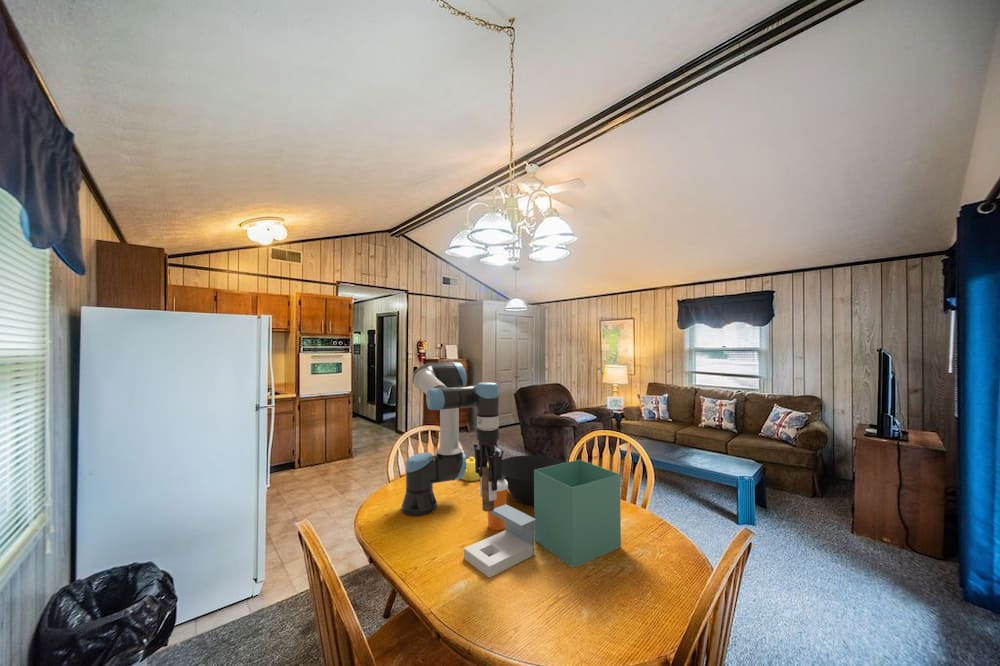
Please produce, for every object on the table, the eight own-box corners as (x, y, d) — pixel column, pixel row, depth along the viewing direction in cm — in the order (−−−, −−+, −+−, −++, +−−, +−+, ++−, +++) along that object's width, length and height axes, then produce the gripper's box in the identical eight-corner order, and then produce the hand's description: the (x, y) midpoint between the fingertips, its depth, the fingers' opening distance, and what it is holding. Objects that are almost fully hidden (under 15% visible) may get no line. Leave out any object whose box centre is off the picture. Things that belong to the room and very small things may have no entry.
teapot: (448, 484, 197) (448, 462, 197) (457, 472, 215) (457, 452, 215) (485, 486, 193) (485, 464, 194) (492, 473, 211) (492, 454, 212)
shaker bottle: (505, 532, 146) (505, 480, 146) (483, 530, 148) (483, 479, 148) (509, 522, 154) (509, 472, 155) (488, 520, 156) (488, 471, 157)
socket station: (462, 557, 129) (462, 520, 130) (506, 537, 142) (505, 504, 142) (491, 579, 117) (491, 538, 117) (536, 555, 130) (536, 519, 130)
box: (572, 568, 123) (572, 487, 124) (534, 540, 140) (533, 469, 141) (621, 547, 135) (620, 474, 136) (580, 523, 153) (579, 459, 153)
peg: (489, 505, 130) (488, 464, 131) (496, 509, 127) (496, 467, 128) (480, 508, 128) (479, 466, 128) (487, 512, 125) (487, 469, 125)
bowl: (581, 493, 183) (581, 462, 184) (550, 523, 153) (550, 486, 154) (518, 479, 202) (518, 451, 203) (480, 503, 172) (479, 470, 173)
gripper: (464, 425, 133) (464, 493, 132) (495, 434, 120) (495, 508, 119) (481, 422, 137) (481, 487, 137) (512, 430, 124) (513, 502, 124)
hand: (488, 497), depth 128 cm, fingers closed on peg, 4 cm apart
